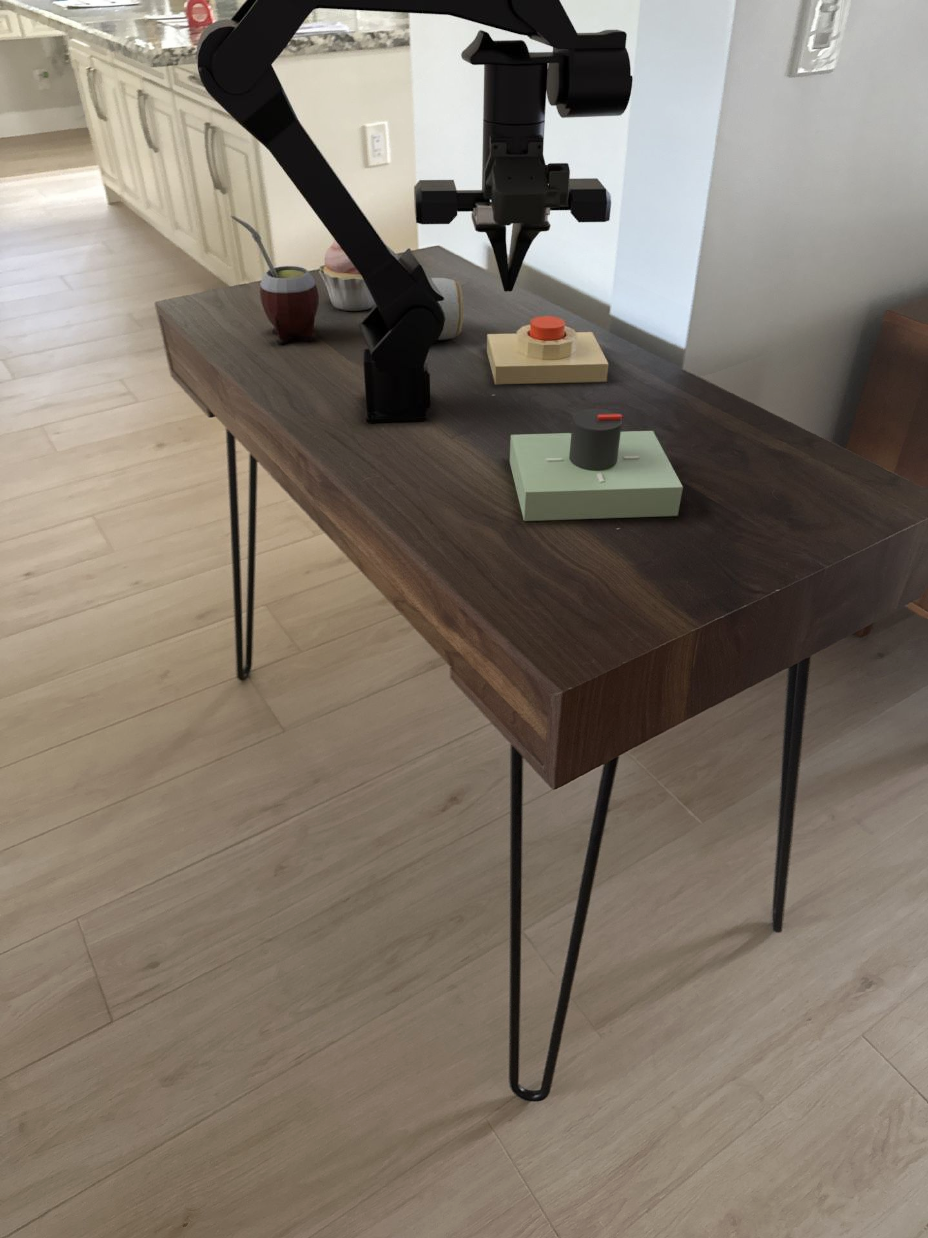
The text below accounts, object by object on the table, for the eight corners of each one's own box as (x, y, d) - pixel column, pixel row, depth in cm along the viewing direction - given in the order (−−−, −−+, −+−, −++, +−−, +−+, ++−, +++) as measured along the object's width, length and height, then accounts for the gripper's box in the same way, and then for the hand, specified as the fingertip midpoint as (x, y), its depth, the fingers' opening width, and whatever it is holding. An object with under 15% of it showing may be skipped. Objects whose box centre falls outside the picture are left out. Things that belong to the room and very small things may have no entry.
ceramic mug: (465, 346, 112) (465, 283, 107) (400, 350, 111) (397, 287, 106) (450, 318, 120) (450, 258, 116) (389, 321, 119) (386, 261, 114)
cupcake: (403, 302, 125) (400, 226, 118) (356, 320, 119) (351, 241, 113) (354, 288, 129) (349, 214, 123) (307, 305, 123) (299, 228, 117)
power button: (532, 343, 104) (532, 328, 102) (527, 330, 107) (528, 316, 106) (566, 342, 104) (567, 327, 103) (560, 329, 107) (561, 315, 106)
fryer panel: (523, 521, 80) (525, 490, 78) (509, 462, 89) (510, 432, 87) (677, 516, 81) (683, 485, 79) (648, 457, 90) (653, 428, 88)
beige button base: (495, 384, 103) (496, 350, 101) (486, 351, 111) (487, 319, 109) (606, 381, 104) (610, 348, 102) (590, 348, 112) (593, 317, 109)
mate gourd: (332, 332, 116) (321, 207, 106) (296, 353, 110) (282, 223, 101) (284, 322, 118) (270, 199, 109) (247, 342, 113) (229, 214, 103)
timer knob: (573, 471, 81) (577, 427, 78) (565, 448, 84) (569, 405, 82) (621, 469, 81) (627, 426, 79) (611, 447, 85) (616, 404, 82)
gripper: (415, 137, 76) (420, 319, 86) (632, 135, 77) (612, 316, 87) (411, 113, 85) (416, 282, 94) (606, 112, 86) (591, 279, 96)
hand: (507, 290), depth 93 cm, fingers closed
